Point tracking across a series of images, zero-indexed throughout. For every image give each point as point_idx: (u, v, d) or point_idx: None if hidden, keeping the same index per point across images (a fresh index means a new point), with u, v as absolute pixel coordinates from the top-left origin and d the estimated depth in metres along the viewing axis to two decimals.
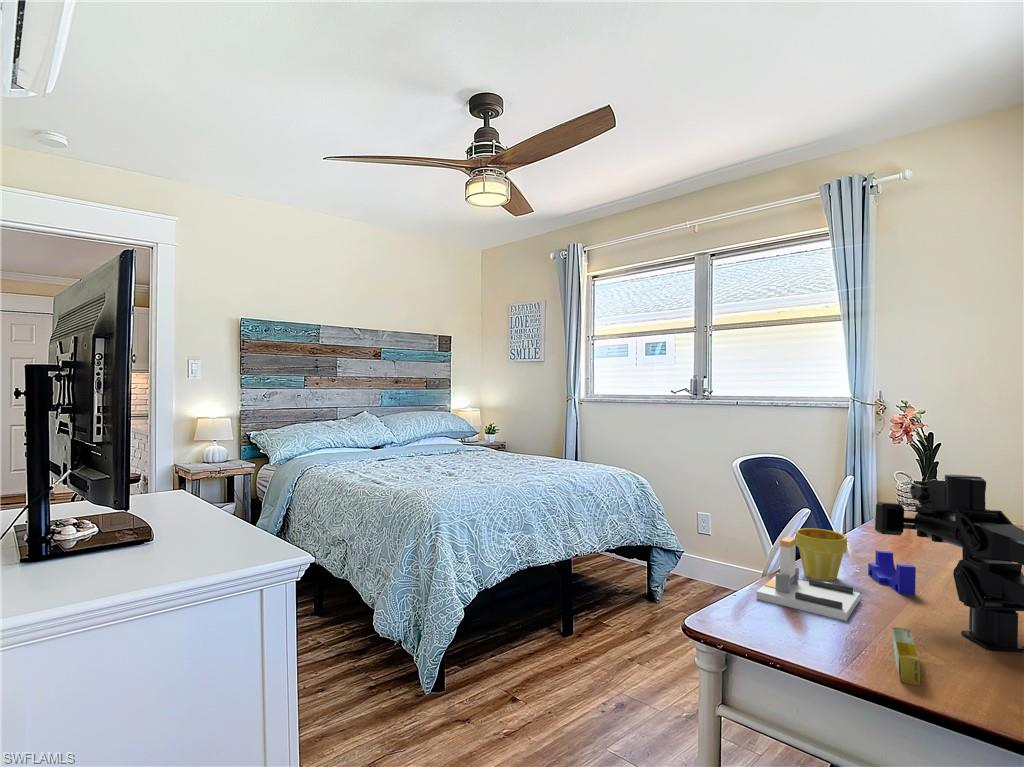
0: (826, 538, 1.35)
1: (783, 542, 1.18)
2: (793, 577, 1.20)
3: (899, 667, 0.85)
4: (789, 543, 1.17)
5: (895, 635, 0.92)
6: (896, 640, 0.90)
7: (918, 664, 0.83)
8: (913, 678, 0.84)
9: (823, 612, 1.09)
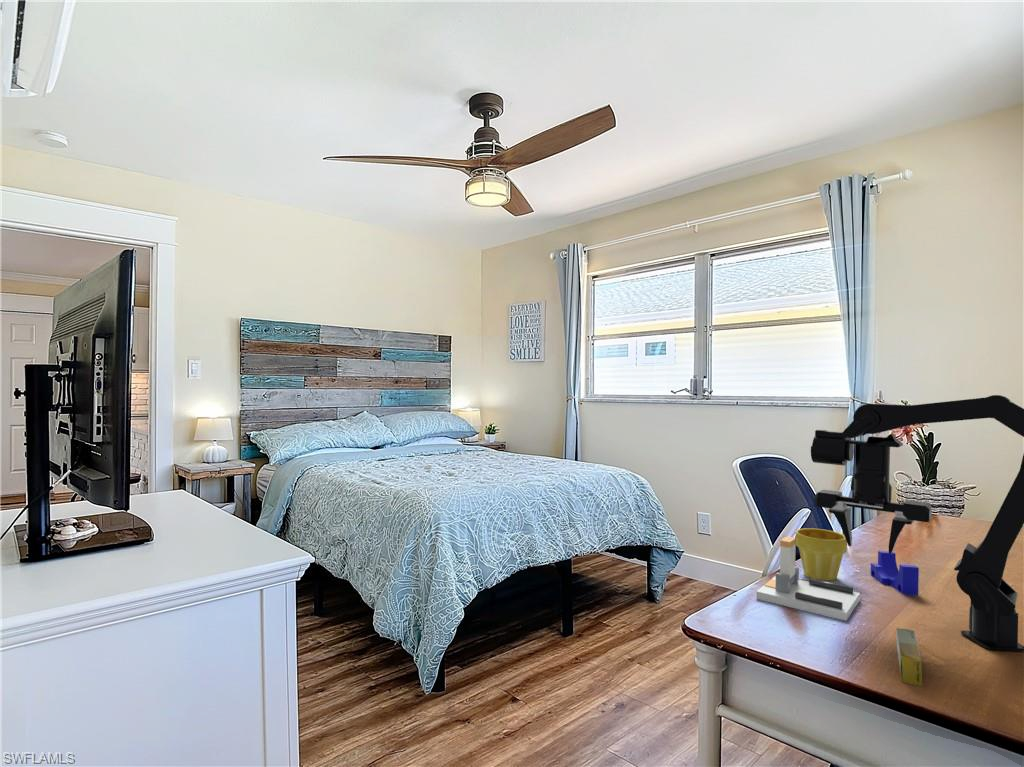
0: (826, 538, 1.35)
1: (783, 542, 1.18)
2: (793, 577, 1.20)
3: (901, 667, 0.85)
4: (789, 543, 1.17)
5: (898, 636, 0.92)
6: (899, 641, 0.90)
7: (920, 665, 0.83)
8: (915, 679, 0.84)
9: (823, 612, 1.09)
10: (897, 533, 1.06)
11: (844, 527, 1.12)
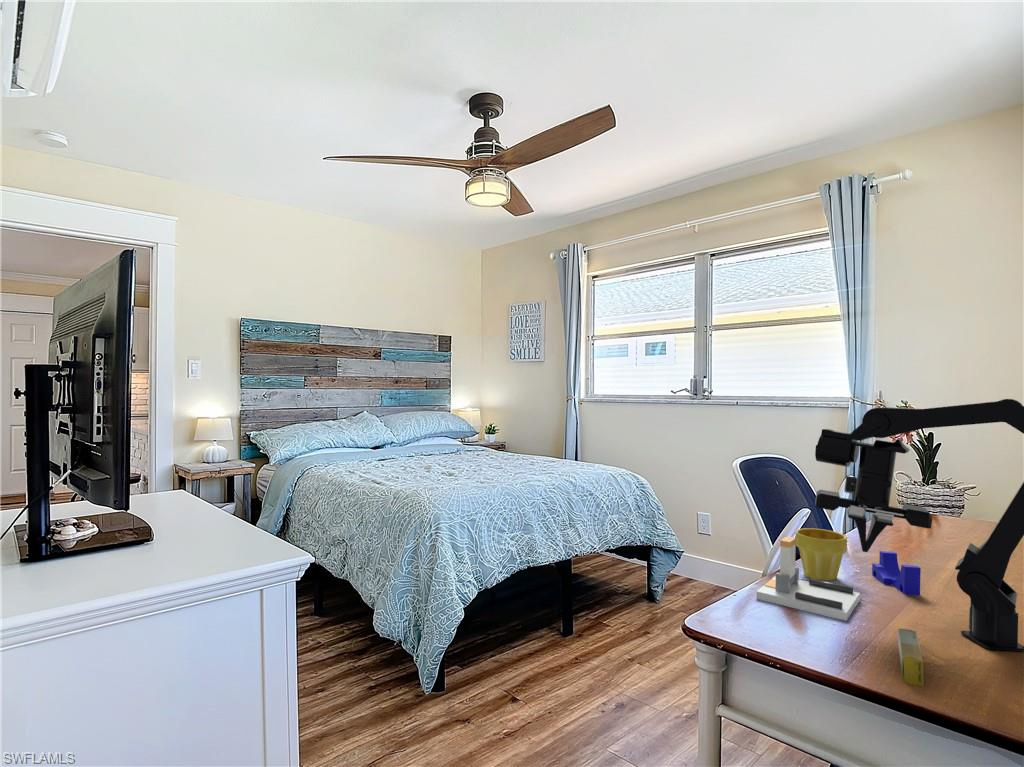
0: (826, 538, 1.35)
1: (783, 542, 1.18)
2: (793, 577, 1.20)
3: (902, 668, 0.85)
4: (789, 543, 1.17)
5: (900, 636, 0.91)
6: (901, 641, 0.90)
7: (922, 665, 0.83)
8: (916, 679, 0.83)
9: (823, 612, 1.09)
10: (877, 533, 1.09)
11: (862, 533, 1.10)
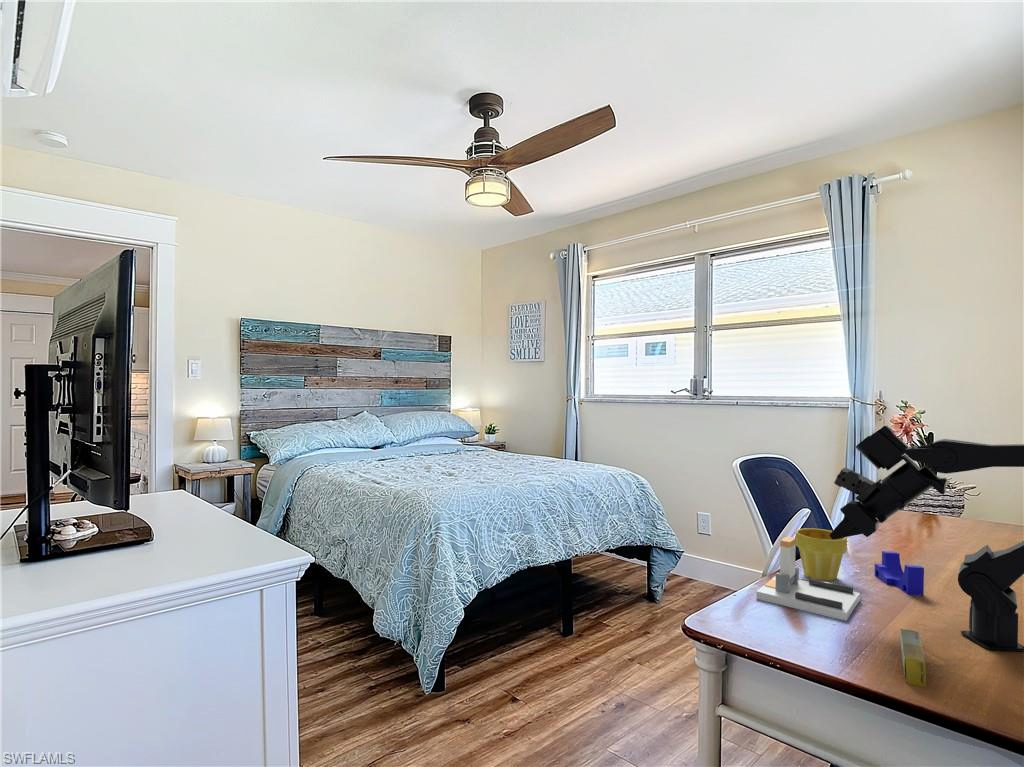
0: (826, 538, 1.35)
1: (783, 542, 1.18)
2: (793, 577, 1.20)
3: (905, 668, 0.84)
4: (789, 543, 1.17)
5: (902, 637, 0.91)
6: (903, 642, 0.89)
7: (924, 665, 0.83)
8: (919, 680, 0.83)
9: (823, 612, 1.09)
10: None
11: None
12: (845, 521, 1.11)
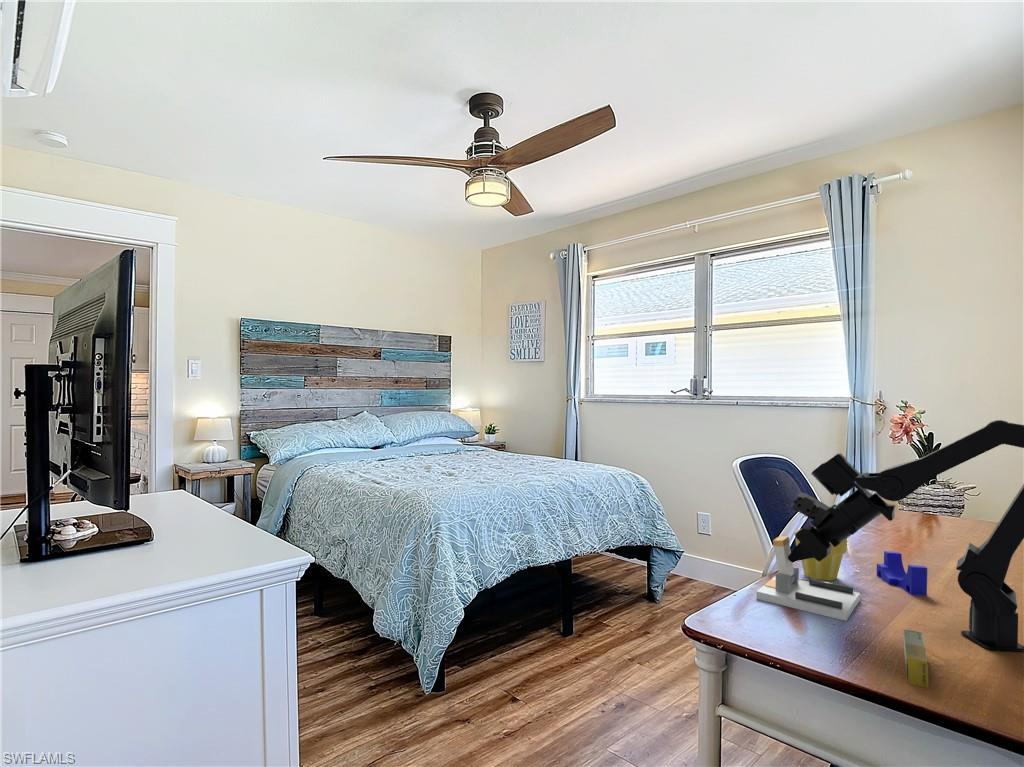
0: None
1: (776, 542, 1.19)
2: (793, 576, 1.20)
3: (907, 669, 0.84)
4: (782, 542, 1.18)
5: (905, 637, 0.91)
6: (906, 642, 0.89)
7: (926, 666, 0.83)
8: (921, 680, 0.83)
9: (823, 612, 1.09)
10: None
11: (809, 557, 1.16)
12: (801, 544, 1.16)
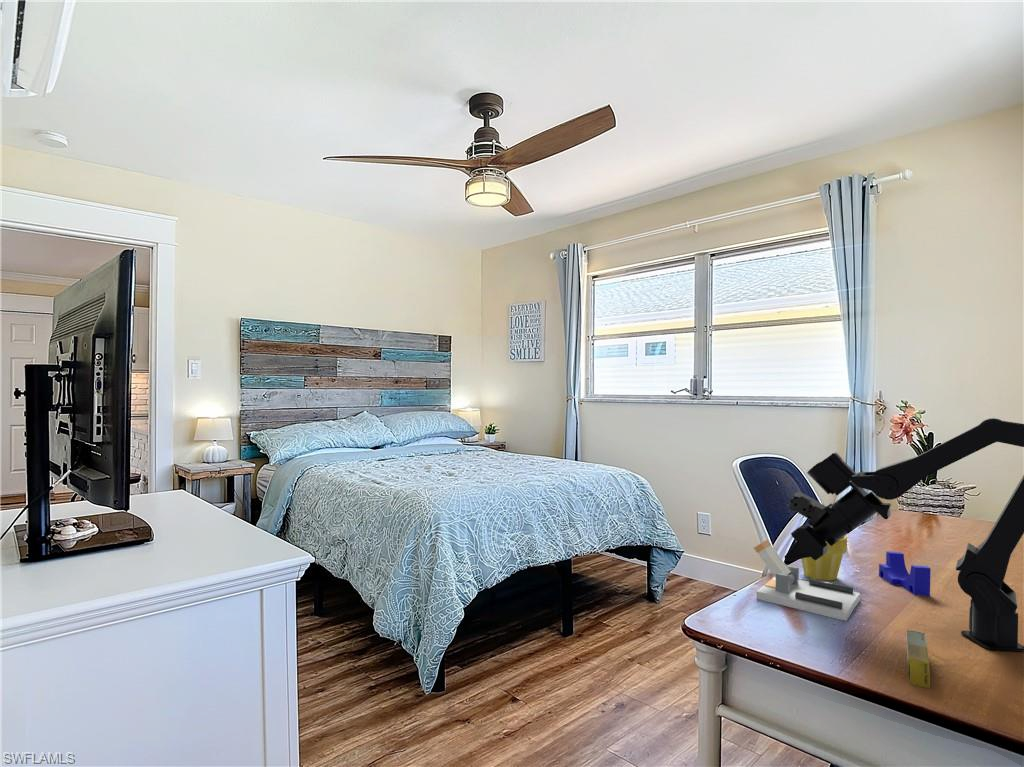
0: None
1: (756, 547, 1.21)
2: (791, 574, 1.20)
3: (908, 669, 0.84)
4: (761, 545, 1.21)
5: (908, 638, 0.91)
6: (908, 643, 0.89)
7: (928, 667, 0.83)
8: (922, 681, 0.83)
9: (823, 612, 1.09)
10: None
11: (806, 557, 1.16)
12: (798, 543, 1.17)
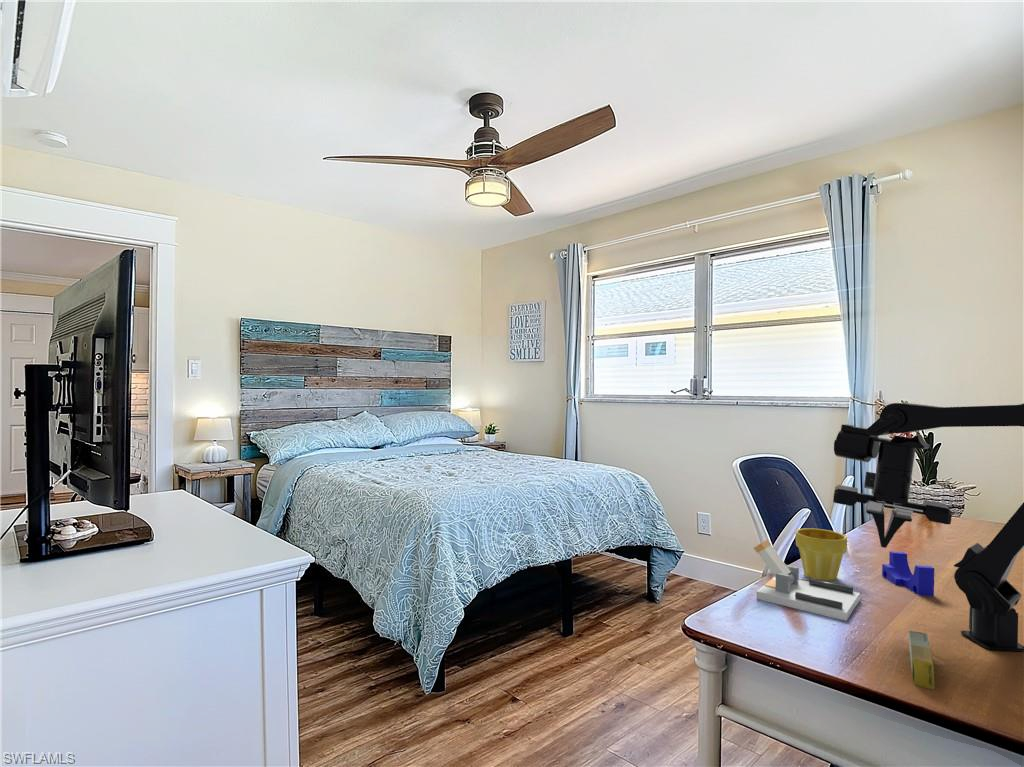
0: (826, 538, 1.35)
1: (756, 547, 1.21)
2: (791, 574, 1.20)
3: (913, 670, 0.84)
4: (761, 545, 1.21)
5: (911, 638, 0.91)
6: (911, 643, 0.89)
7: (932, 668, 0.82)
8: (927, 682, 0.83)
9: (823, 612, 1.09)
10: (896, 529, 1.08)
11: (880, 528, 1.10)
12: None
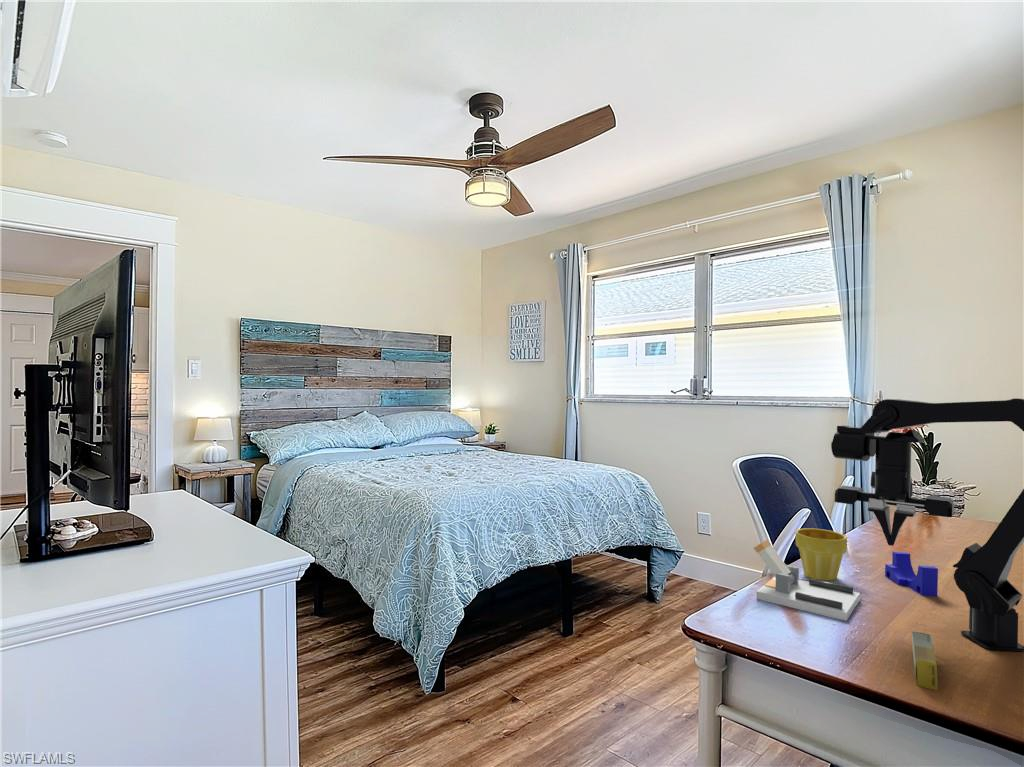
0: (826, 538, 1.35)
1: (756, 547, 1.21)
2: (791, 574, 1.20)
3: (916, 671, 0.84)
4: (761, 545, 1.21)
5: (914, 639, 0.90)
6: (914, 644, 0.89)
7: (935, 668, 0.82)
8: (930, 683, 0.83)
9: (823, 612, 1.09)
10: (899, 525, 1.08)
11: (884, 526, 1.10)
12: None
